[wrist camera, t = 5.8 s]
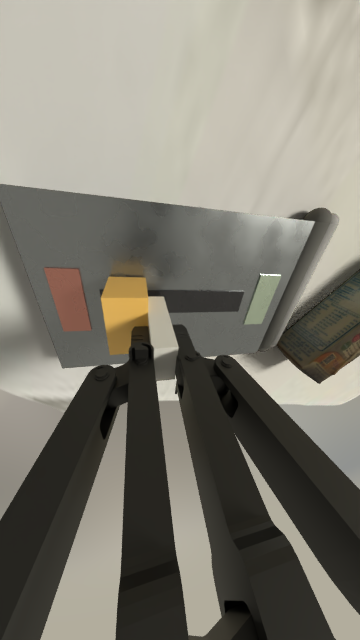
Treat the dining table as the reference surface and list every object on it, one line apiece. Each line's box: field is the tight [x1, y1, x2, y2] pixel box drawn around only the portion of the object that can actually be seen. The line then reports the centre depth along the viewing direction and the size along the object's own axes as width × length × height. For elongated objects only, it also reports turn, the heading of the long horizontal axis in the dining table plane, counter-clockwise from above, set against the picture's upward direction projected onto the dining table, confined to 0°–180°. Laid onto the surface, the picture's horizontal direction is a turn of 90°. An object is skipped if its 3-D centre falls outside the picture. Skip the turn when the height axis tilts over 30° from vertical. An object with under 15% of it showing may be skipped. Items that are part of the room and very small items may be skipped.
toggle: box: [101, 277, 148, 355], centre depth 15 cm, size 5×3×4 cm, turn 175°
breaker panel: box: [0, 184, 315, 368], centre depth 19 cm, size 16×24×3 cm, turn 85°
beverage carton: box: [277, 270, 360, 384], centre depth 25 cm, size 8×19×7 cm, turn 139°
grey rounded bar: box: [258, 208, 339, 352], centre depth 22 cm, size 18×4×2 cm, turn 175°
